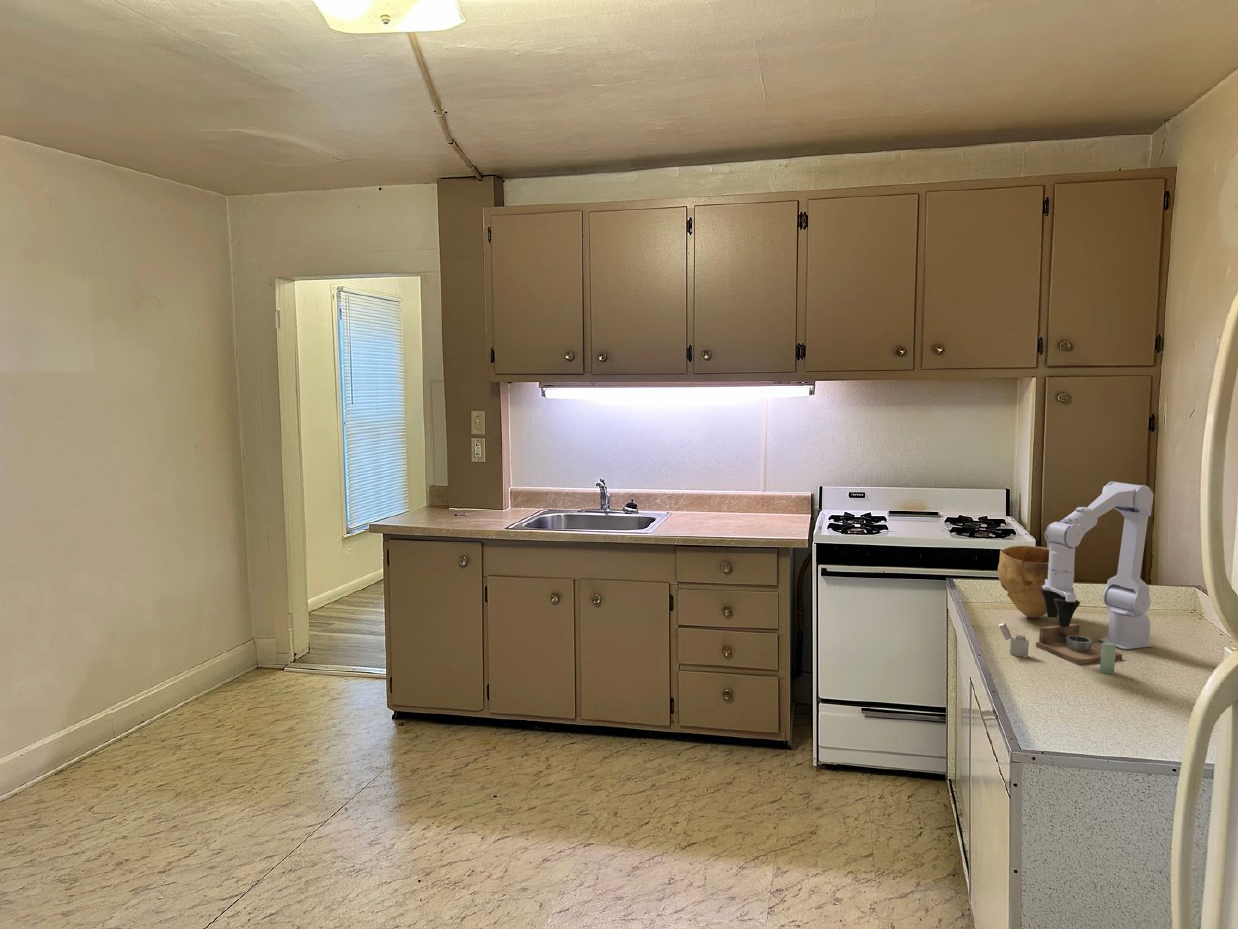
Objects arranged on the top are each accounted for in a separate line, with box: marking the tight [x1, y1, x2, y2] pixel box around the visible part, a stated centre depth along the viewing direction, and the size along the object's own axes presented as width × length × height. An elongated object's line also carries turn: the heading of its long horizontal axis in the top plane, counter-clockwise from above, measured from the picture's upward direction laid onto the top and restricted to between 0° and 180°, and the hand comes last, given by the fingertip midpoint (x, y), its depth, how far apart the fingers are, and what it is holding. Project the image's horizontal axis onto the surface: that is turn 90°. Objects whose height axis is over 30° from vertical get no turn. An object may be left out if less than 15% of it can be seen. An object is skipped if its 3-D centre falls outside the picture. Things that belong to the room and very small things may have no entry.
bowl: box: [997, 545, 1076, 619], centre depth 246 cm, size 21×20×20 cm
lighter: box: [998, 622, 1030, 658], centre depth 216 cm, size 7×2×8 cm, turn 59°
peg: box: [1099, 641, 1117, 675], centre depth 203 cm, size 3×3×7 cm
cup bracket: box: [1035, 623, 1123, 666], centre depth 217 cm, size 14×14×5 cm
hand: (1057, 621), depth 212 cm, fingers open, 7 cm apart
